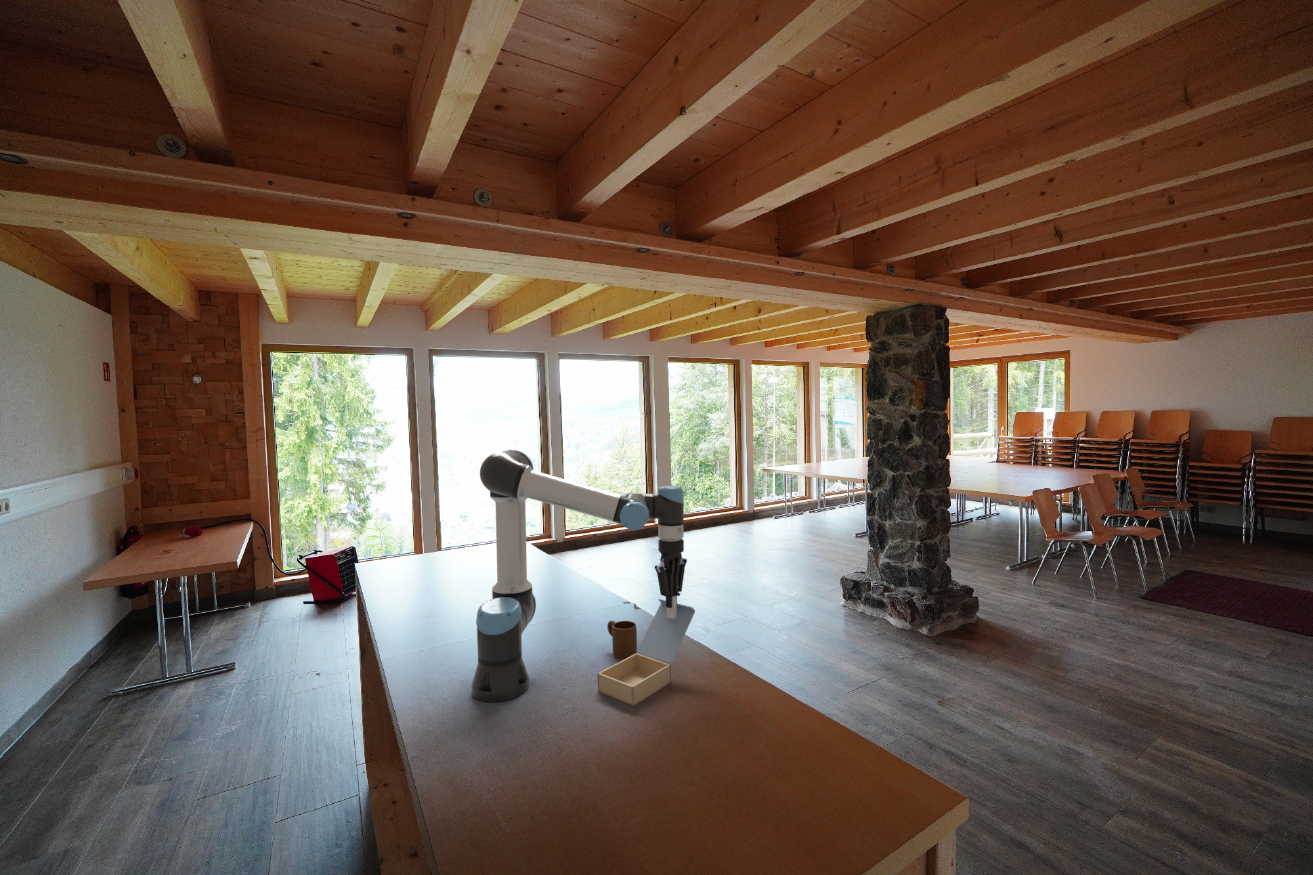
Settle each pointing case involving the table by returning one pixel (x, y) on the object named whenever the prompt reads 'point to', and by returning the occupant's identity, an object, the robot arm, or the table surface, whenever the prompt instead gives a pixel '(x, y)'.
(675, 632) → the lid
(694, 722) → the table surface
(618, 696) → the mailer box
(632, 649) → the mug
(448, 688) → the table surface
